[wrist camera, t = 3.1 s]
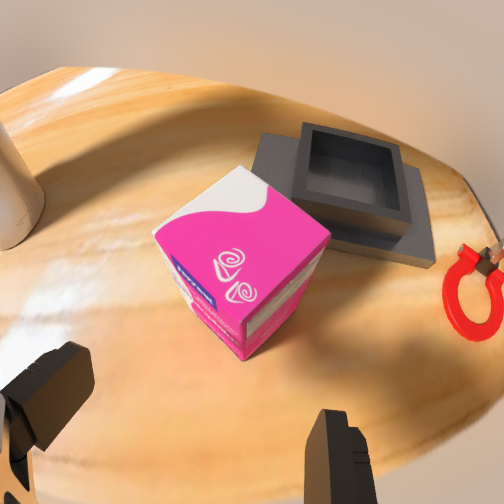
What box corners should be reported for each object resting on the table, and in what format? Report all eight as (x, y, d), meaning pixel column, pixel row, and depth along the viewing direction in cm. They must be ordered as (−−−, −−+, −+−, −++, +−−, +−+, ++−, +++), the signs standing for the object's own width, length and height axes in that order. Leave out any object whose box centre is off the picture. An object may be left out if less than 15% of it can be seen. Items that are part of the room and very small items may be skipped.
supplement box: (187, 312, 22) (146, 227, 12) (243, 263, 25) (244, 157, 15) (241, 366, 20) (240, 323, 11) (296, 311, 23) (338, 226, 13)
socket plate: (236, 231, 26) (236, 197, 22) (262, 143, 32) (264, 110, 28) (427, 268, 25) (452, 244, 21) (413, 177, 31) (429, 150, 27)
